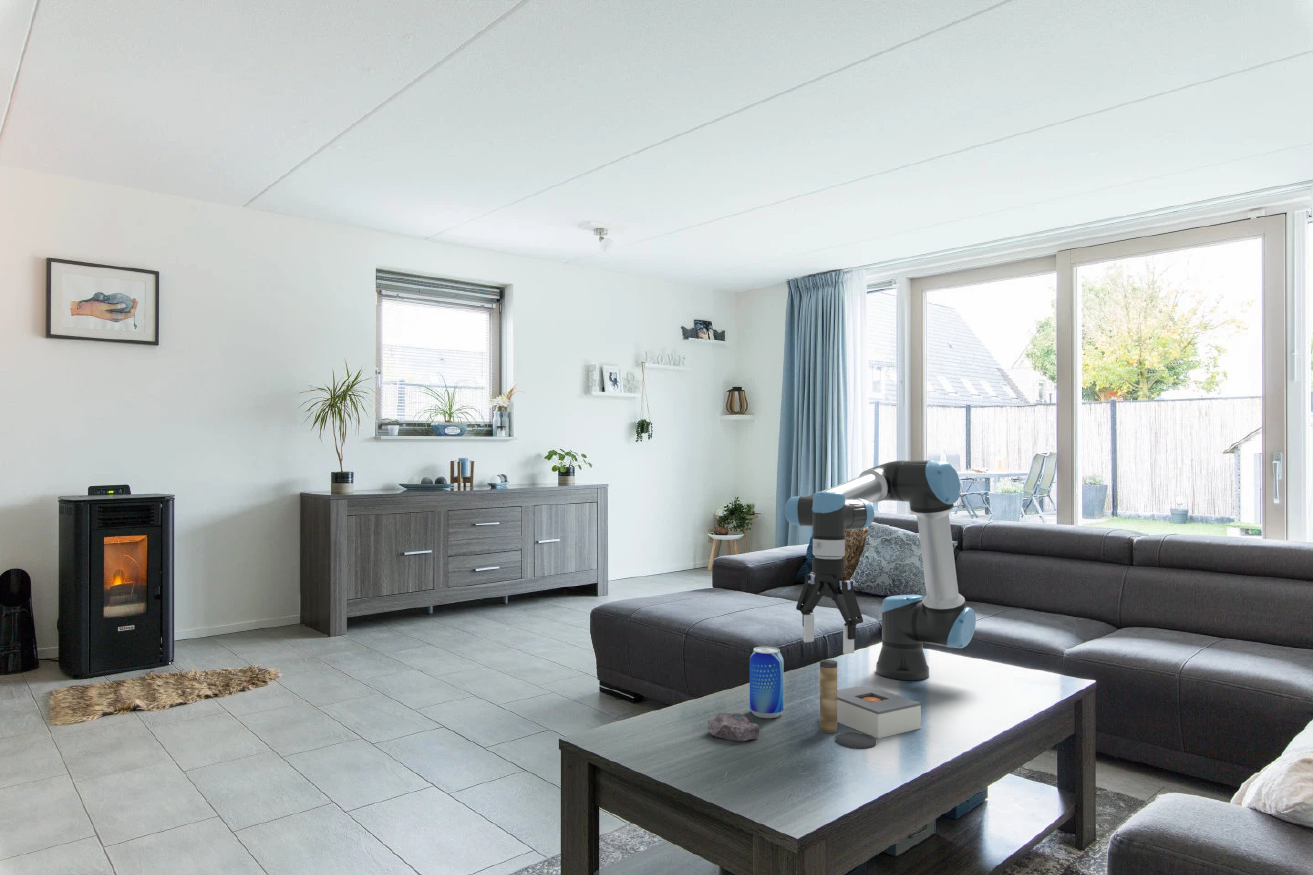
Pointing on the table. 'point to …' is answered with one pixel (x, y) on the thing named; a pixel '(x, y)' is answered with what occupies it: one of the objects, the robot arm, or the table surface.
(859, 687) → the box
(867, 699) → the breaker button
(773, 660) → the beer can
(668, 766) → the table surface
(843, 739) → the pad
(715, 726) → the rock
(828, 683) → the stylus
